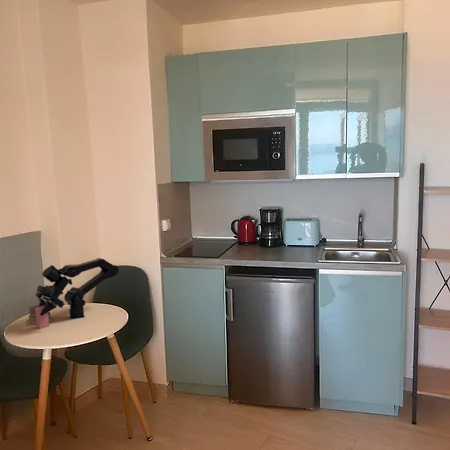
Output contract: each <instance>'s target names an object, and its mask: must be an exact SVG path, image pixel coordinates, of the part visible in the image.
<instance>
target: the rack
mask: <svg viewBox="0 0 450 450" xmlns="http://www.w3.org/2000/svg"><path fill="white" fill-rule="evenodd" d="M38 306H39V304H38V305H32V306H31V305H30V306H29V307H28V308H29V315H28V325H29V327H33V326H37V323H36V313H35V308H36V307H38ZM48 320H49V324H52V323H53V322H52V316H51V312H50V311H49V312H48Z"/></svg>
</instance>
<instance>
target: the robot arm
mask: <svg viewBox="0 0 450 450" xmlns="http://www.w3.org/2000/svg"><path fill="white" fill-rule="evenodd" d="M96 268H100V272H99V273H97V274H96V275H94V276H93V277H92V278H90V279H89V280H88V281H86V282H85V283H84V284H82V285H81V286H79V287H75V286H72V285H73V281H72V279H73V278H75V277H77V276H80V274H82V273H83V272H87V271H89V270H93V269H96ZM119 271H120V270H119V267H118V265H115V264H112V263H111V262H109V261H107V260H105V259H104V258H101V257H98V258H95V259H93V260H89V261H85V262H82V263H79V264H66V265H63V267H62V268H59V269H57V267H55V266H54V265H52V264H50V265H49V266H48V267H47V268H45V269H44V270H43V272H42V274H41V275H42V277H43V278H44V279H46V280H47V281H49V282H50V283H53V284H52V285H45V286H43V285H37V288H36V293H35V297H36V298H37V299H38V302H39V303H38V305H39V306H43V305H44V308H43V310H42V312H41V314H40V315H41V316H43V315H44V314H46V313H47V312H50V311H53V310H54V309H57V306H58V308H61V309H62V308H63V307H64V305H65V303H66V304H67V305H68V306H69V308H68V311H69V317H70V319H71V320H75V319H82V318H85V311H84V306H86V301H85V300H84V297H85V295H86V294H88V293H89V292H90V291H92V290H93V289H94V288H96V287H97V286H99V285H100V284H101V283H103V282H104V281H106V280H108V279H111V278H114V277H116V276H118V275H119ZM68 285H71V286H72V287H71V288H70V289H69V290H66V293H65V294H64V292H63V291H64V290H65V288H66V287H67V286H68ZM63 294H64V297H63V299H64V300H61V299H60V298H59V297H60V295H63ZM64 301H65V302H64ZM39 306H38V307H39Z"/></svg>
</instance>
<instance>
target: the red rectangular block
mask: <svg viewBox="0 0 450 450" xmlns="http://www.w3.org/2000/svg"><path fill="white" fill-rule="evenodd" d="M43 308H44V305H43V306H39V307H36V308H35V313H36V323H37V325H36V328H37V329H40V330H41V329H42V330H43V329H44V328H48V327H50V323H49V320H48V312H47V313H46V314H44V315H43V316H41V315H40V314H41V312H42V310H43Z"/></svg>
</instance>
